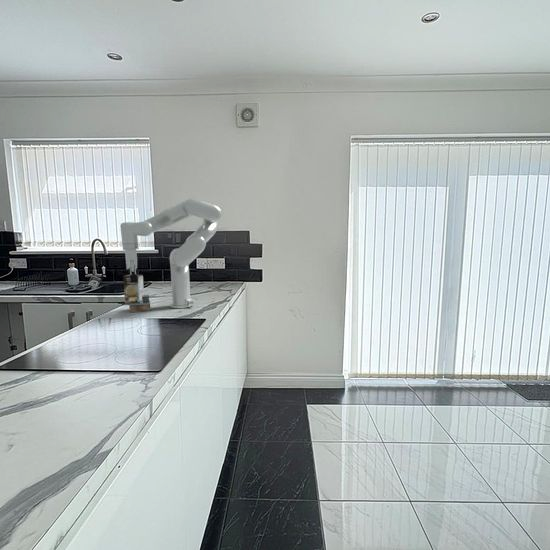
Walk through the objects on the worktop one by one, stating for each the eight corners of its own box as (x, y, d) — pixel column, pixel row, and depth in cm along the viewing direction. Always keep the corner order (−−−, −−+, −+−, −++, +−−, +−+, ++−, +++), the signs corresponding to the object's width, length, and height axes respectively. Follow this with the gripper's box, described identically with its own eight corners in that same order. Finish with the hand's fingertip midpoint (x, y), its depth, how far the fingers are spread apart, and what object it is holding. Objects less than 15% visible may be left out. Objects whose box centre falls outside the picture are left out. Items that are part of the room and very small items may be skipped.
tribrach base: (149, 307, 187) (149, 301, 187) (150, 310, 180) (150, 304, 180) (129, 309, 184) (129, 303, 183) (129, 312, 176) (129, 306, 176)
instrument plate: (149, 301, 187) (149, 294, 186) (150, 304, 180) (150, 296, 179) (129, 302, 183) (129, 295, 183) (129, 305, 176) (129, 298, 175)
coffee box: (124, 303, 197) (122, 275, 195) (130, 301, 204) (128, 274, 201) (139, 304, 196) (137, 276, 194) (144, 301, 203) (143, 274, 201)
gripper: (122, 246, 182) (126, 281, 185) (122, 247, 168) (126, 285, 171) (138, 245, 185) (141, 279, 187) (138, 247, 171) (142, 283, 174)
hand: (134, 282), depth 179 cm, fingers closed
